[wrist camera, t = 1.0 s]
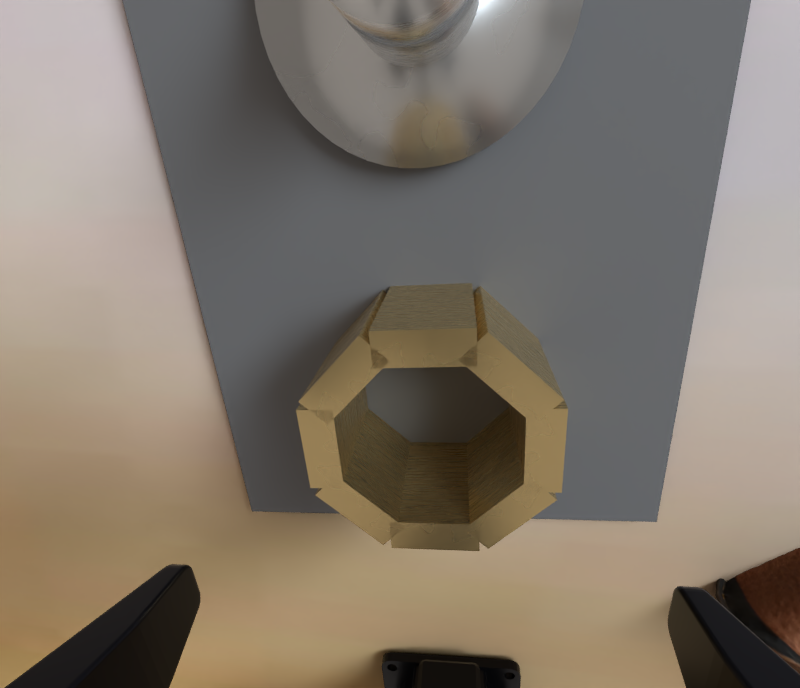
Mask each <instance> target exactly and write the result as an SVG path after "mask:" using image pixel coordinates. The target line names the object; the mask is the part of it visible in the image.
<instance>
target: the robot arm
mask: <svg viewBox="0 0 800 688" xmlns="http://www.w3.org/2000/svg"><path fill="white" fill-rule="evenodd" d="M199 605H200V591H199V588H198V585H197V582H196V579H195V576H194V573H193V570H192V568H191V567H190V566H189V565H177V564H172V565H168V566H166V567H165V568H163V569H162V570H161V571H159V572H158V573H157V574H155V575H154V576H153V577H151V578H150V579H149V580H147V581H146V582H145V583H143V584H142V585H141V586H139V587H138V588H137V589H135V590H134V591H133V592H131V593H130V594H129V595H127V596H126V597H125V598H123V599H122V600H121V601H119V602H118V603H117V604H115V605H114V606H113V607H111V608H110V609H109V610H107V611H106V612H105V613H103V614H102V615H101V616H99V617H98V618H97V619H95V620H94V621H93V622H91V623H90V624H89V625H87V626H86V627H85V628H83V629H82V630H81V631H79V632H78V633H77V634H75V635H74V636H73V637H71V638H70V639H69V640H67V641H66V642H65V643H63V644H62V645H61V646H59V647H58V648H57V649H55V650H54V651H53V652H51V653H50V654H49V655H47V656H46V657H45V658H43V659H42V660H41V661H39V662H38V663H37V664H35V665H34V666H33V667H31V668H30V669H29V670H27V671H26V672H25V673H23V674H22V675H21V676H19V677H18V678H17V679H15V680H14V681H13V682H11V683H10V684H9V685H7V686H6V687H5V688H169V686H170V684H171V681H172V679H173V676H174V674H175V671H176V668H177V665H178V663H179V660H180V657H181V655H182V652H183V649H184V646H185V644H186V641H187V638H188V636H189V633H190V630H191V627H192V625H193V622H194V619H195V617H196V614H197V611H198V608H199ZM668 629H669V633H670V637H671V640H672V643H673V647H674V650H675V653H676V656H677V660H678V663H679V666H680V669H681V673H682V676H683V679H684V682H685V686H686V688H800V674H799V673H798V672H797V671H796V670H794V669H793V668H792V667H791V666H790V665H789V664H788V663H787V662H785V661H784V660H783V659H782V658H781V657H780V656H779V655H778V654H776V653H775V652H774V651H773V650H772V649H771V648H770V647H769V646H767V645H766V644H765V643H764V642H763V641H762V640H761V639H760V638H759V637H757V636H756V635H755V634H754V633H753V632H752V631H751V630H750V629H748V628H747V627H746V626H745V625H744V624H743V623H742V622H741V621H739V620H738V619H737V618H736V617H735V616H734V615H733V614H732V613H730V612H729V611H728V610H727V609H726V608H725V607H724V606H723V605H721V604H720V603H719V602H718V601H717V600H716V599H715V598H714V597H713V596H711V595H710V594H709V593H708V592H707V591H705V590H704V589H702V588H699V587H683V586H679V587H677V588H675V590H674V592H673V597H672V601H671V606H670V611H669V615H668ZM382 671H383V678H384V686H385V688H520V679H521V676H520V668H519V665H518V664H517V663H516V662H514V661H511V660H499V659H484V658H469V657H455V656H440V655H425V654H410V653H395V652H390V653H386V654H385V655H384V656H383V663H382Z"/></svg>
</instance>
